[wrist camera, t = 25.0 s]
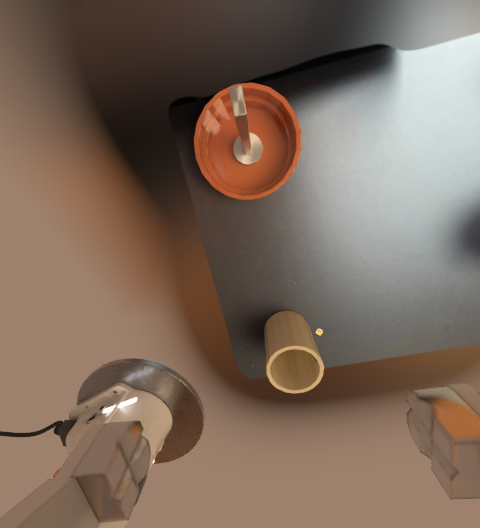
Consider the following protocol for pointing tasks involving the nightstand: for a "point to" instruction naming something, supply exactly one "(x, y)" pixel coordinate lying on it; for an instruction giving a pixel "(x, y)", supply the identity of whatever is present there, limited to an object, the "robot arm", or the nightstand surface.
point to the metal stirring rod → (244, 130)
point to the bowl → (260, 123)
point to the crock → (291, 353)
